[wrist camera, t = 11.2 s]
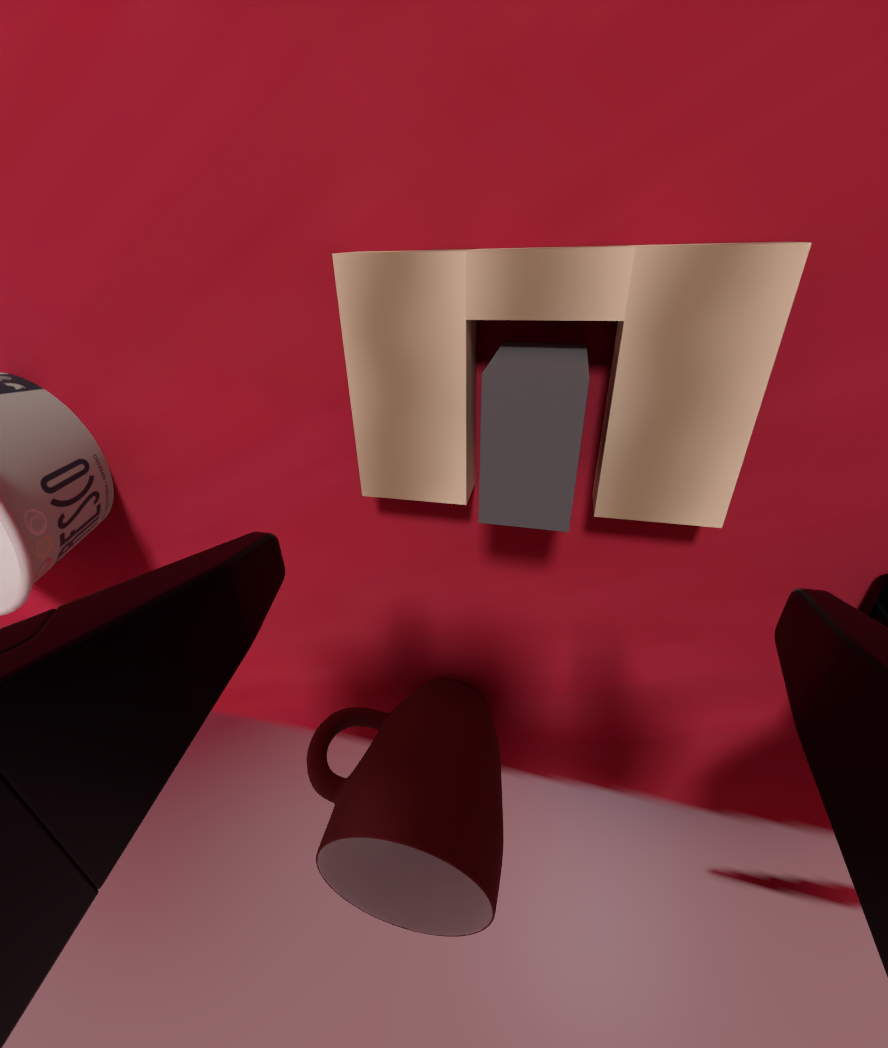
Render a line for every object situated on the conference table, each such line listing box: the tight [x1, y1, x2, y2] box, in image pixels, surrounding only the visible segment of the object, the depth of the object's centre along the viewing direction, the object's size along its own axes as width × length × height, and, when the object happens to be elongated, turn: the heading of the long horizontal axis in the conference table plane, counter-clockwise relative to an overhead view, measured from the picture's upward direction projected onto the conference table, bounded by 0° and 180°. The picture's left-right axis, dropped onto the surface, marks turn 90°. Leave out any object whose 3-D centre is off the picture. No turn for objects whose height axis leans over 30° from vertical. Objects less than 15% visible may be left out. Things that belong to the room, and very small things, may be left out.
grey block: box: [479, 342, 590, 532], centre depth 17 cm, size 3×5×5 cm, turn 1°
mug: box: [307, 679, 503, 936], centre depth 25 cm, size 11×8×10 cm
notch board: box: [332, 242, 811, 528], centre depth 18 cm, size 14×9×2 cm, turn 91°
